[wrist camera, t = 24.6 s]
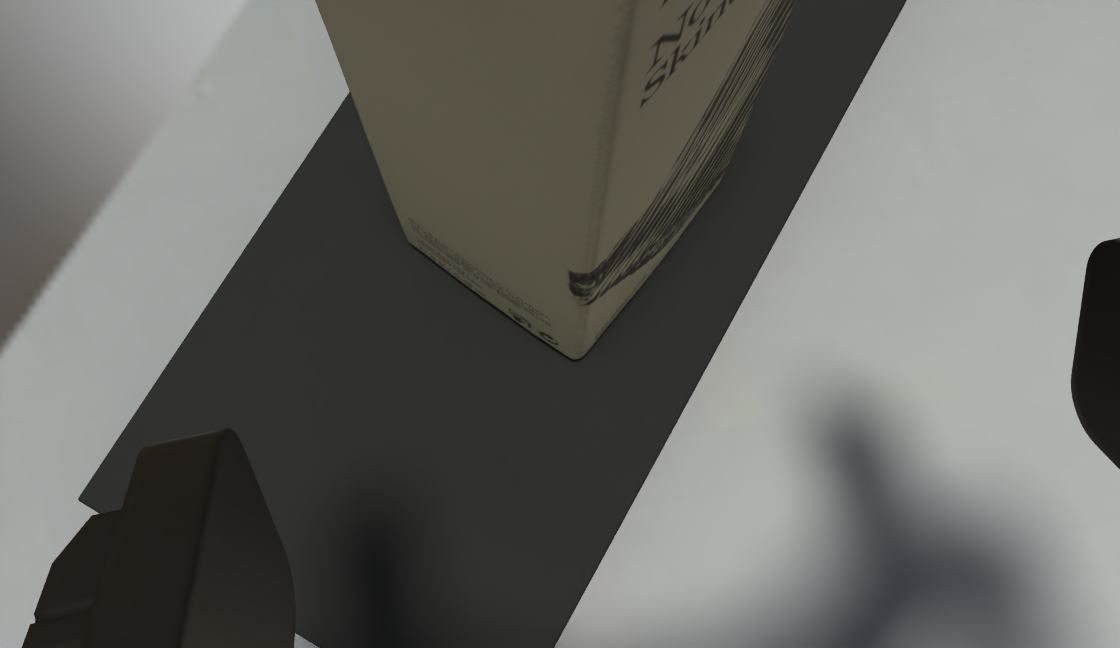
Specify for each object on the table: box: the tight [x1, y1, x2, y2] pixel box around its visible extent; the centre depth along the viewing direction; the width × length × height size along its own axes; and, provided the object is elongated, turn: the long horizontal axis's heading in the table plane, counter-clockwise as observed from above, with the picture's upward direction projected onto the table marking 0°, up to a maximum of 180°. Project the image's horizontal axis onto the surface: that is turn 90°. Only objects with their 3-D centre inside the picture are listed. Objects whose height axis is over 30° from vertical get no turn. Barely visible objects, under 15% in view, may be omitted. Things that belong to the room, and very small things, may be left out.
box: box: [315, 0, 797, 359], centre depth 14 cm, size 5×4×13 cm
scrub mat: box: [78, 0, 906, 648], centre depth 21 cm, size 20×9×1 cm, turn 150°
